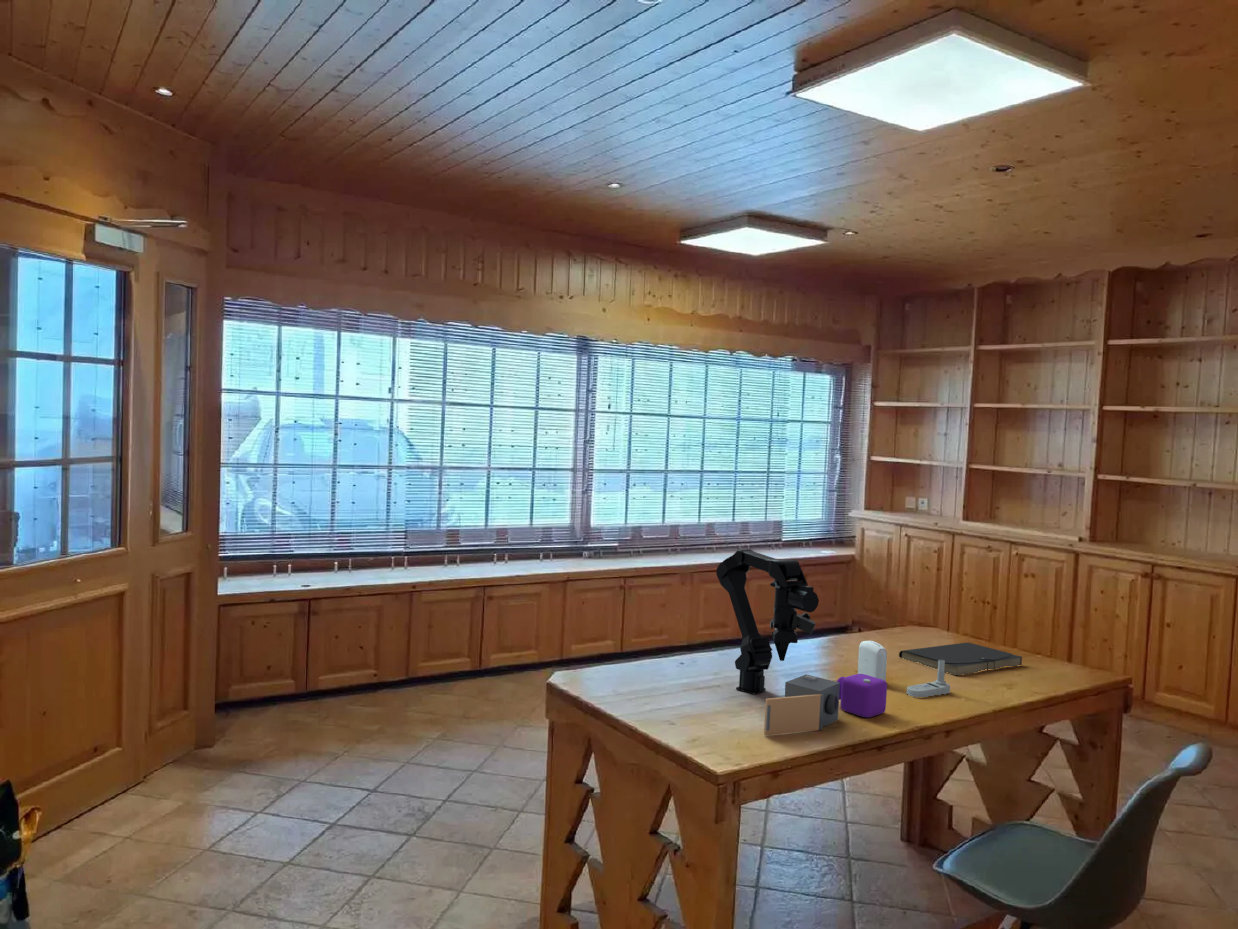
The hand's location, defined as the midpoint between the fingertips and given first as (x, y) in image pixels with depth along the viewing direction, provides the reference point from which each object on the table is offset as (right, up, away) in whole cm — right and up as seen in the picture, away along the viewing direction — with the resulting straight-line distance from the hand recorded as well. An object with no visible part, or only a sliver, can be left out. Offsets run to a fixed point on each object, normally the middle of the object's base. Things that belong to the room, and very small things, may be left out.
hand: (781, 660), depth 241 cm
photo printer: (+32, -13, +26) cm, 44 cm away
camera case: (+5, -13, -12) cm, 19 cm away
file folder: (+71, -14, +55) cm, 91 cm away
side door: (-1, -13, -24) cm, 27 cm away
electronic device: (+46, -14, +16) cm, 51 cm away
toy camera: (+20, -13, -3) cm, 24 cm away
